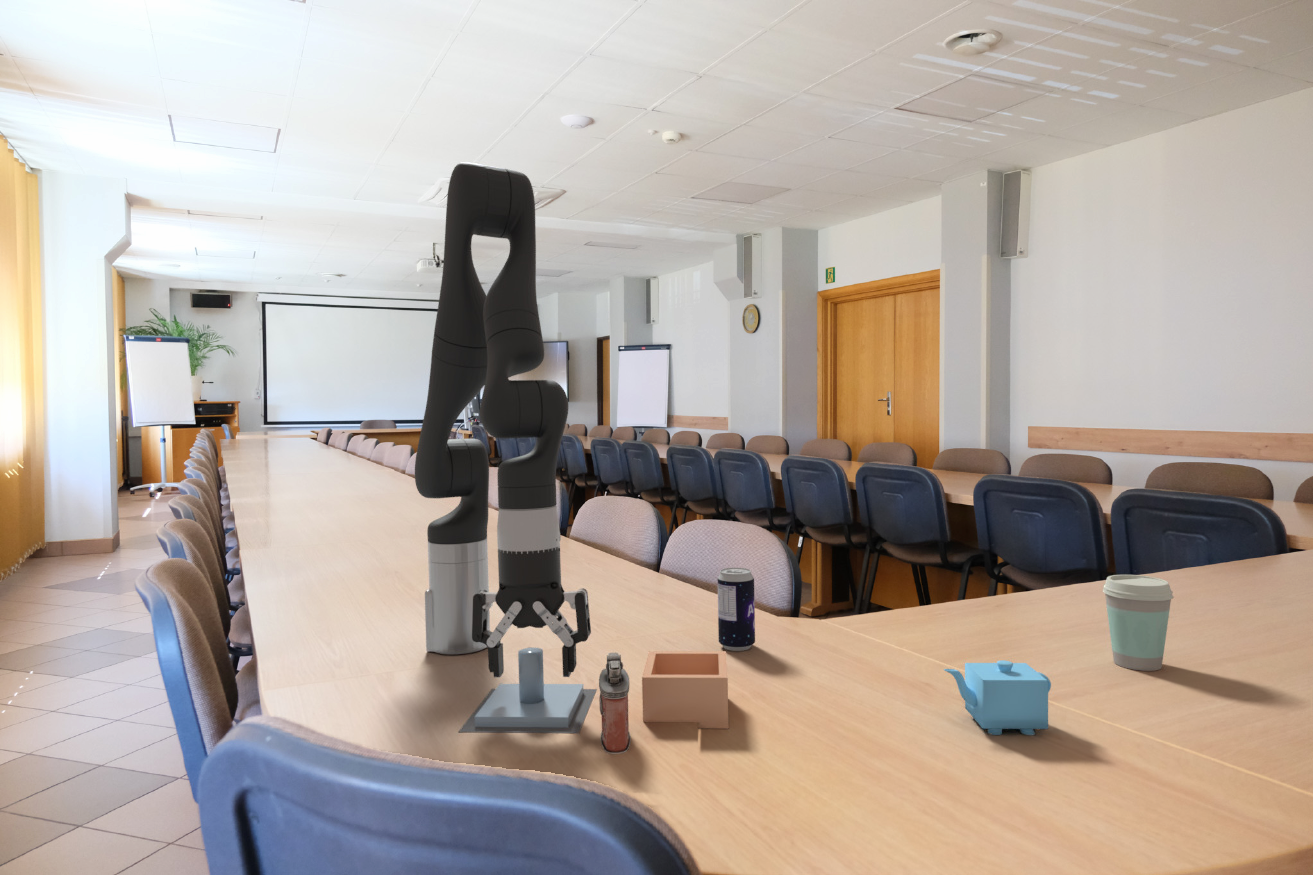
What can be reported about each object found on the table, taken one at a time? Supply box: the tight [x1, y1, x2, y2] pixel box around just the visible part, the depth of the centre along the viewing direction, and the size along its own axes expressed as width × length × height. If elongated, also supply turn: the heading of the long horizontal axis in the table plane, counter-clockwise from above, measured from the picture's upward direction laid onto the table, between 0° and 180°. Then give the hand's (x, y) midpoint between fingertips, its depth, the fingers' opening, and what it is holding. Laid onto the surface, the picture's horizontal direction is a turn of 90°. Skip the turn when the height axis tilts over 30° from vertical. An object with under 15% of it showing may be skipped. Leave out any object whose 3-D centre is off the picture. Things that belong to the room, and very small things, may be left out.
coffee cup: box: [1102, 574, 1175, 672], centre depth 111 cm, size 9×8×12 cm
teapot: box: [943, 660, 1052, 736], centre depth 91 cm, size 12×6×8 cm, turn 86°
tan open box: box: [641, 650, 729, 730], centre depth 97 cm, size 10×10×6 cm
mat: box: [458, 688, 597, 734], centre depth 97 cm, size 14×14×1 cm
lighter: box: [598, 651, 632, 755], centre depth 88 cm, size 8×3×10 cm, turn 5°
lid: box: [475, 647, 585, 727], centre depth 97 cm, size 11×11×7 cm
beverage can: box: [717, 567, 756, 652], centre depth 123 cm, size 6×6×12 cm
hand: (533, 675), depth 97 cm, fingers open, 8 cm apart
